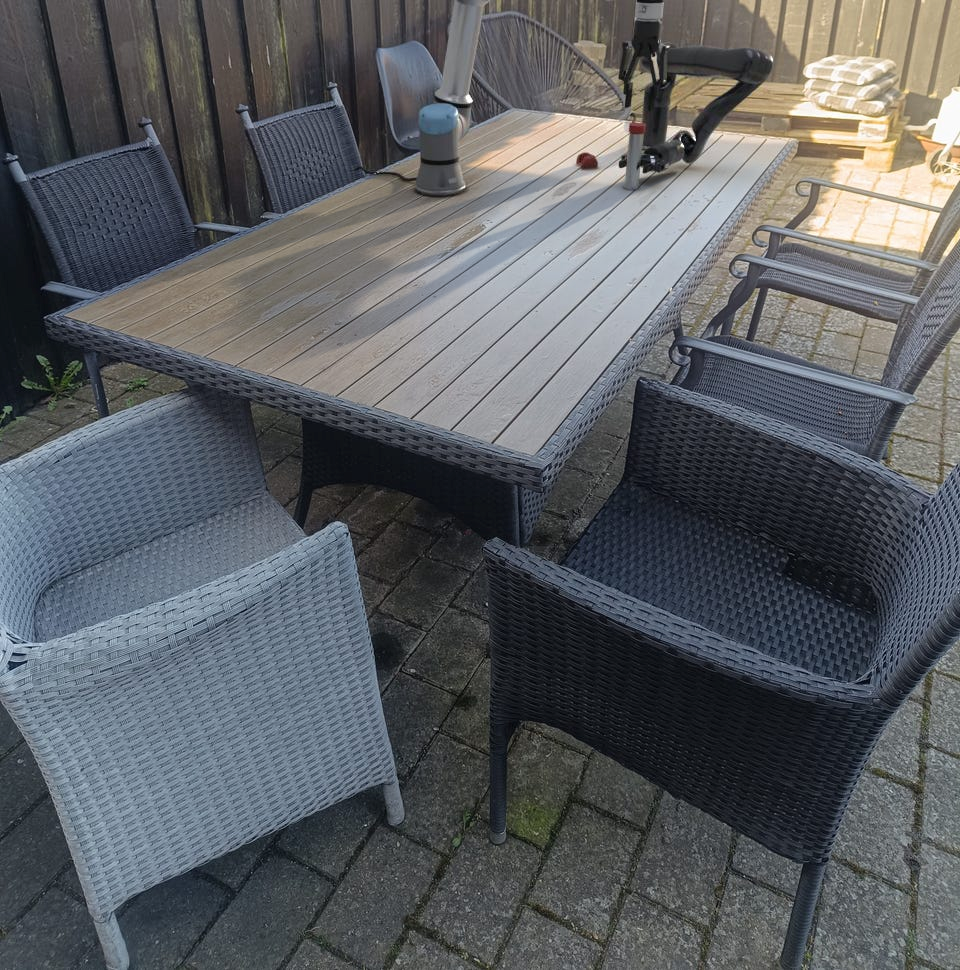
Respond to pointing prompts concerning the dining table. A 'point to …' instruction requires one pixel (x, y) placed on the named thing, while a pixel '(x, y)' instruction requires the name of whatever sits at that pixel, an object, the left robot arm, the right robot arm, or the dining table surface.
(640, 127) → the lid
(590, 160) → the dental model
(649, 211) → the dining table surface
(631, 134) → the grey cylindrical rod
